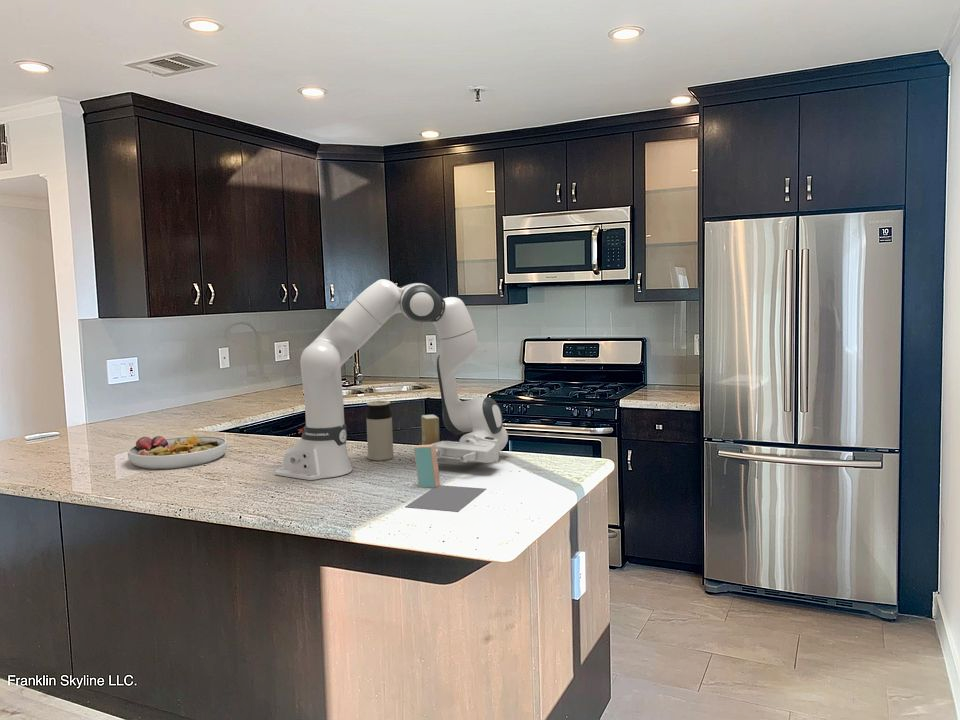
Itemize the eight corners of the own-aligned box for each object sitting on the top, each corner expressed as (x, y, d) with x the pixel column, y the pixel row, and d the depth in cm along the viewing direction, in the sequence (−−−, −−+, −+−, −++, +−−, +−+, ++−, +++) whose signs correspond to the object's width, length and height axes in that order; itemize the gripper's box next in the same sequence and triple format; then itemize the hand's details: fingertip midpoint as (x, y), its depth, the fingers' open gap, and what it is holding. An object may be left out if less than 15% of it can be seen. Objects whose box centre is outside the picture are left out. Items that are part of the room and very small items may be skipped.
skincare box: (421, 451, 233) (420, 415, 232) (434, 450, 235) (433, 414, 234) (427, 456, 227) (426, 418, 226) (440, 454, 229) (439, 417, 228)
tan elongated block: (418, 487, 190) (413, 447, 190) (423, 484, 193) (418, 445, 192) (435, 487, 189) (430, 446, 188) (440, 484, 191) (435, 444, 191)
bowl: (243, 449, 246) (241, 427, 245) (201, 471, 216) (199, 446, 216) (161, 450, 249) (159, 428, 248) (108, 472, 219) (106, 447, 219)
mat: (404, 508, 172) (404, 506, 172) (437, 486, 191) (437, 485, 191) (458, 513, 168) (458, 511, 168) (486, 490, 186) (486, 488, 186)
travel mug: (391, 460, 222) (389, 403, 220) (366, 461, 222) (363, 404, 221) (395, 454, 230) (392, 400, 228) (370, 455, 230) (368, 400, 228)
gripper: (443, 434, 216) (417, 443, 204) (502, 439, 205) (478, 449, 194) (444, 454, 216) (418, 464, 204) (503, 461, 206) (479, 472, 194)
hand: (448, 457), depth 199 cm, fingers open, 8 cm apart
